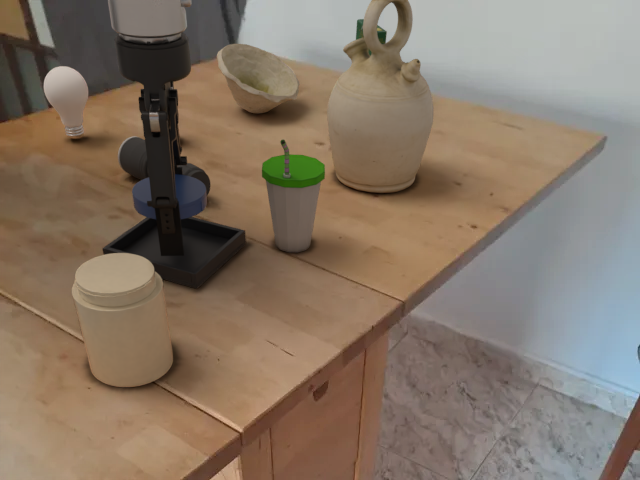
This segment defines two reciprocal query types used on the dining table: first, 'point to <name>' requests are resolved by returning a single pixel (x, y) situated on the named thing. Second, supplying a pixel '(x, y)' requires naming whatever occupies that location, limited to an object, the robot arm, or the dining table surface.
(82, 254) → the dining table surface
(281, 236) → the cup
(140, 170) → the flashlight
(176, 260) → the tray
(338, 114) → the jug
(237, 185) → the dining table surface
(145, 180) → the lid
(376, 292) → the dining table surface
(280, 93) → the bowl
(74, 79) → the light bulb
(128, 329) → the jar
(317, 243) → the dining table surface
